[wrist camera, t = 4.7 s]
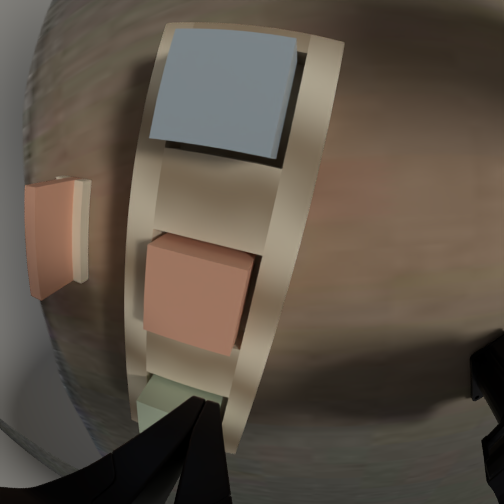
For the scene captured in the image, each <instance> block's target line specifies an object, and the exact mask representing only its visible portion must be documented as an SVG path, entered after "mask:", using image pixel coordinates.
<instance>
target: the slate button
mask: <svg viewBox="0 0 504 504" xmlns="http://www.w3.org/2000/svg"><path fill="white" fill-rule="evenodd" d="M296 66H297V39H296V38H291V37H286V36H279V35H272V34H265V33H257V32H248V31H237V30H222V29H175V32H174V36H173V39H172V42H171V46H170V49H169V53H168V56H167V60H166V64H165V68H164V72H163V76H162V80H161V84H160V88H159V92H158V97H157V101H156V106H155V111H154V116H153V121H152V126H151V131H150V136H149V138H153V139H161V140H169V141H176V142H183V143H190V144H197V145H203V146H209V147H215V148H221V149H226V150H232V151H237V152H242V153H247V154H252V155H257V156H262V157H267V158H273V159H276V157H277V153H278V148H279V144H280V139H281V135H282V130H283V125H284V121H285V116H286V112H287V107H288V103H289V98H290V93H291V89H292V84H293V79H294V75H295V70H296Z"/></svg>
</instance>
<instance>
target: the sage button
mask: <svg viewBox="0 0 504 504" xmlns="http://www.w3.org/2000/svg"><path fill="white" fill-rule="evenodd" d="M191 396H198V397H201V398H204V399H205V400H206V401H207V400H211V401H214V402H217V403H219V404H220V408H221V404H222V399H223V396H220V395H217V394H213V393H210V392H207V391H203V390H200V389H197V388H194V387H190V386H187V385H184V384H181V383H178V382H175V381H172V380H170V379H167V378H164V377H161V376H158V375H156V374H153V376H152V377H151V379H150V380H149V382H148V383H147V385H146V387H145V388H144V390H143V391H142V393H141V394H140V396H139V397H138V399H137V400H136V403H137V414H138V423H139V432H140V433H141V432H143V431H144V430H145V429H147V428H148V427H150V426H151V425H153V424H154V423H155V422H157V421H158V420H160V419H161V418H163V417H164V416H165V415H167V414H168V413H170V412H171V411H172V410H174V409H175V408H176V407H178V406H179V405H180V404H182V403H183V402H185V401H186V400H187V399H189V398H190V397H191Z"/></svg>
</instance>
